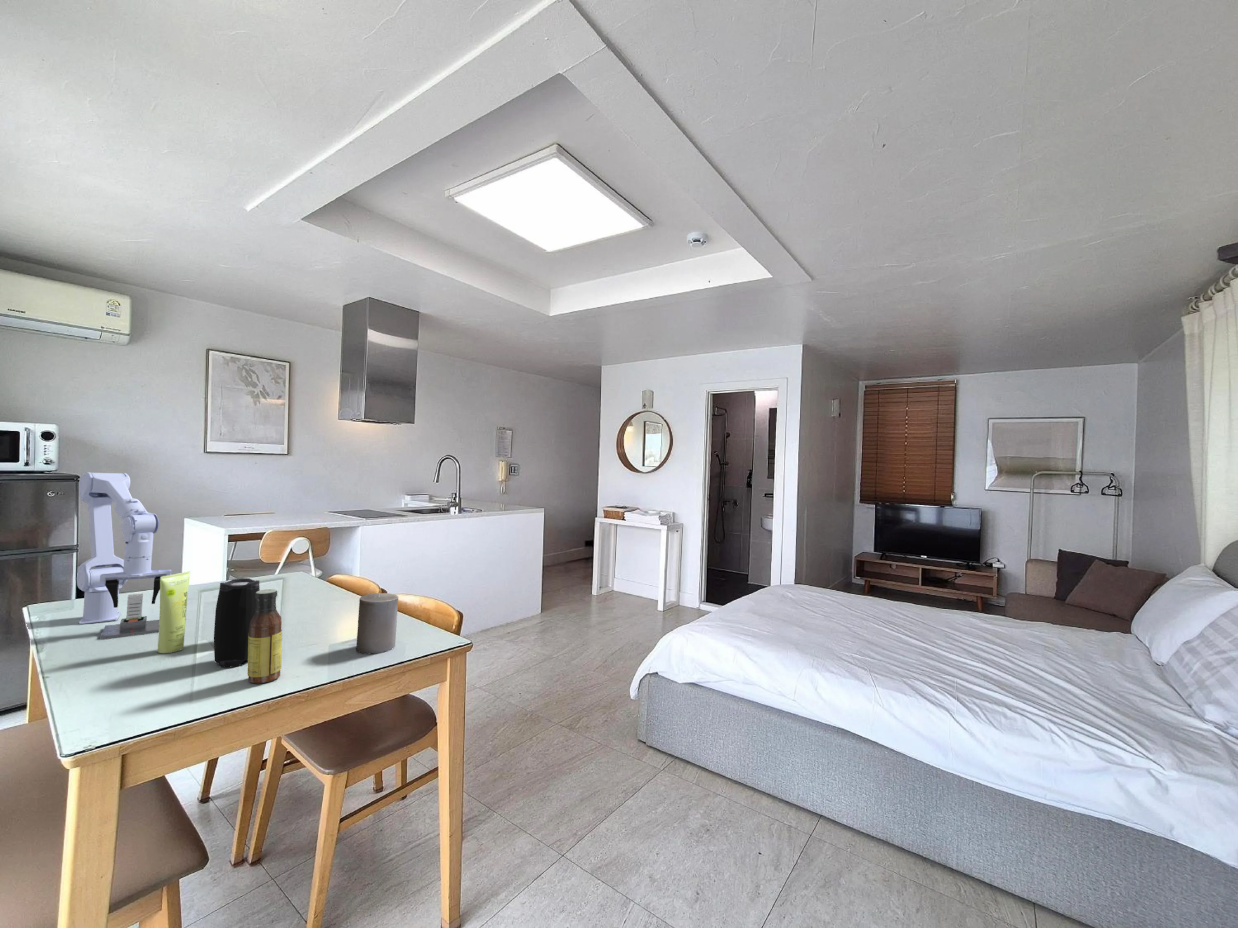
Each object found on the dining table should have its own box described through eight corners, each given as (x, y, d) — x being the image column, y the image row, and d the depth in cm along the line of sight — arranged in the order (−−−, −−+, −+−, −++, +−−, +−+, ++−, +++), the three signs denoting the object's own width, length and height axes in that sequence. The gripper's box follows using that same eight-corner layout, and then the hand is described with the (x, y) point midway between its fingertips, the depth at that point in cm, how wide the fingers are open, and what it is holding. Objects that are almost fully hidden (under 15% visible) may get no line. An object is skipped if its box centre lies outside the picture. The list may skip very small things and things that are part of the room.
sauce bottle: (275, 671, 118) (280, 586, 118) (284, 679, 114) (290, 590, 114) (241, 679, 112) (247, 590, 113) (250, 687, 108) (256, 594, 109)
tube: (181, 652, 127) (186, 574, 128) (154, 655, 124) (160, 576, 125) (185, 645, 132) (190, 570, 132) (159, 648, 129) (164, 572, 130)
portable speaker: (209, 671, 116) (214, 586, 117) (215, 658, 124) (220, 578, 125) (255, 665, 121) (259, 583, 121) (258, 653, 129) (262, 576, 129)
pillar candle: (347, 649, 134) (351, 592, 134) (380, 639, 143) (383, 586, 143) (371, 656, 130) (375, 598, 130) (403, 646, 138) (407, 591, 139)
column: (126, 617, 143) (128, 594, 143) (141, 616, 145) (143, 593, 145) (125, 620, 140) (127, 597, 140) (141, 618, 142) (142, 595, 142)
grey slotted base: (105, 628, 143) (106, 615, 143) (162, 621, 151) (163, 610, 151) (100, 639, 134) (101, 626, 134) (161, 631, 142) (162, 619, 142)
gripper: (100, 560, 135) (96, 611, 135) (172, 556, 145) (169, 604, 144) (103, 556, 141) (99, 605, 140) (172, 553, 150) (169, 599, 150)
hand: (134, 604), depth 143 cm, fingers open, 7 cm apart
